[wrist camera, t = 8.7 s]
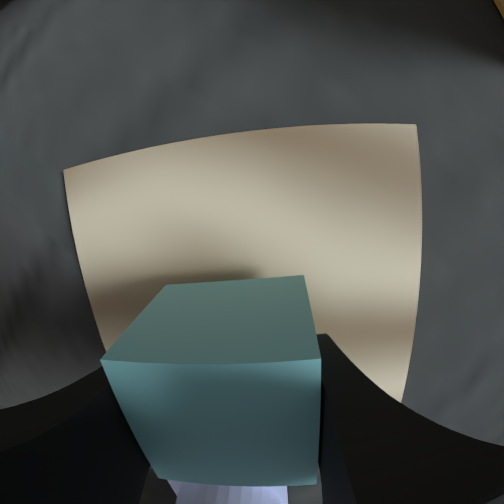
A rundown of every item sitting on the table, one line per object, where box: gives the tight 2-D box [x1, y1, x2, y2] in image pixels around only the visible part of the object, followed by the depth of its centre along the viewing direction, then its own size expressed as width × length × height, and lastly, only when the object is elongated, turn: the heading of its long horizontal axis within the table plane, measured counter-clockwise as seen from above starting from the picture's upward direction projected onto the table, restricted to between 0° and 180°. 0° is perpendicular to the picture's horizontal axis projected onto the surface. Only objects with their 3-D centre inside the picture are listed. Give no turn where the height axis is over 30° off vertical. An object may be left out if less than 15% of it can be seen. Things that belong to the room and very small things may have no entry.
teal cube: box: [100, 275, 321, 487], centre depth 8 cm, size 4×4×4 cm
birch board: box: [63, 124, 422, 403], centre depth 12 cm, size 14×14×1 cm
